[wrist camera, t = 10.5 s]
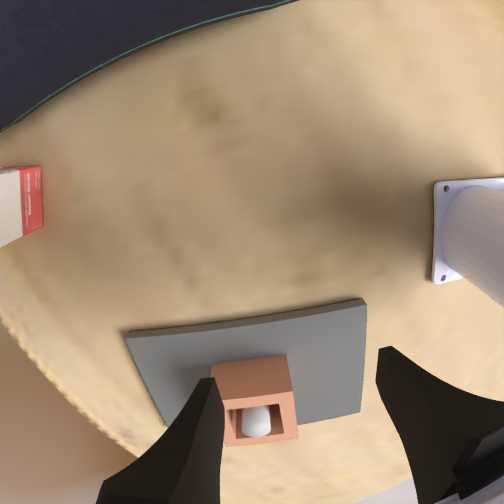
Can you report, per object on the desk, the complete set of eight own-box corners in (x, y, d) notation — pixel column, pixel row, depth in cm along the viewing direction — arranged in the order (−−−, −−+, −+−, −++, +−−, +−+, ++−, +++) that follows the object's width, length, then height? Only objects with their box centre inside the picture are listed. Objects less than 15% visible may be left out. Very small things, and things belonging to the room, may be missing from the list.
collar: (286, 354, 22) (292, 391, 18) (292, 402, 24) (298, 438, 20) (212, 363, 22) (207, 401, 18) (227, 411, 24) (225, 446, 20)
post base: (362, 298, 22) (391, 340, 16) (357, 404, 25) (373, 447, 20) (128, 331, 22) (104, 376, 17) (174, 427, 26) (165, 471, 21)
